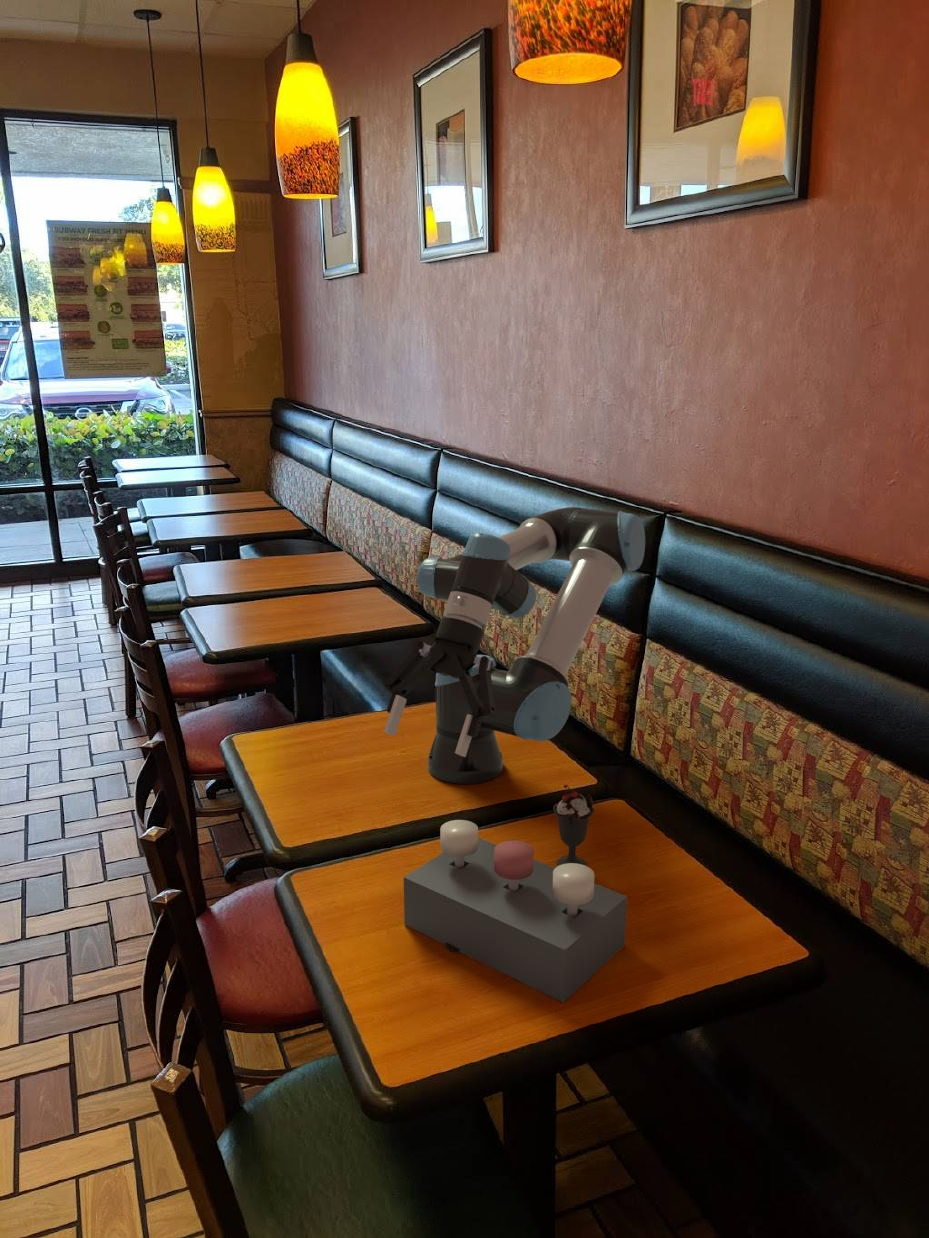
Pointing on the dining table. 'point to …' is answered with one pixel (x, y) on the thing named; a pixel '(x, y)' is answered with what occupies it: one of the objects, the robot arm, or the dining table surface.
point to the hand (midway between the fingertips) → (423, 744)
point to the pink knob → (513, 861)
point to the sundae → (573, 823)
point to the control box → (515, 921)
